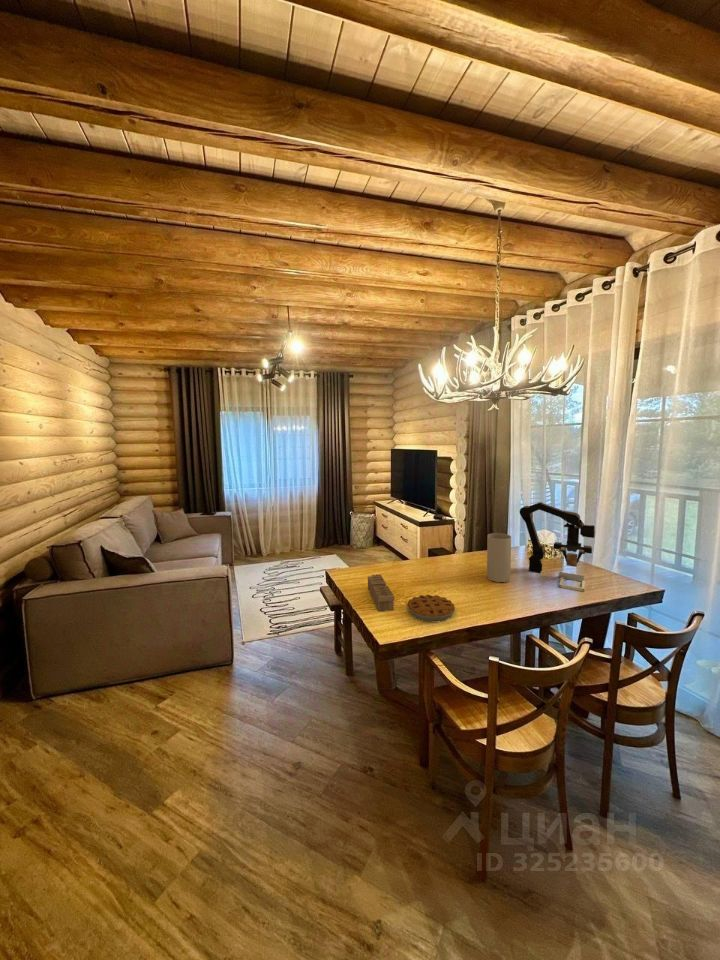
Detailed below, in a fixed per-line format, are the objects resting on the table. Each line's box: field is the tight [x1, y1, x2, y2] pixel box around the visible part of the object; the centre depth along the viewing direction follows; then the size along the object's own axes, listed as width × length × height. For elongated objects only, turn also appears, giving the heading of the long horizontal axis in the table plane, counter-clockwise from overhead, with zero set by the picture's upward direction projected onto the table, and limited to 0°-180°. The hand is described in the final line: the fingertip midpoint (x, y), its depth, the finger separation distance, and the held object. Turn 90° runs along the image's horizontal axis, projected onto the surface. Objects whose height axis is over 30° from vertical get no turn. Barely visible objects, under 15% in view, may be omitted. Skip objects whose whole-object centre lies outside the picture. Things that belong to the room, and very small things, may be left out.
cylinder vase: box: [486, 532, 512, 583], centre depth 208 cm, size 12×12×25 cm
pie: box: [406, 594, 456, 623], centre depth 172 cm, size 22×22×5 cm
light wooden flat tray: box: [558, 577, 586, 592], centre depth 199 cm, size 11×13×2 cm
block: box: [565, 552, 578, 568], centre depth 209 cm, size 5×5×6 cm
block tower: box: [367, 574, 395, 612], centre depth 187 cm, size 8×8×29 cm
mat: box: [558, 571, 585, 583], centre depth 210 cm, size 12×10×1 cm
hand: (571, 562), depth 209 cm, fingers closed on block, 5 cm apart
